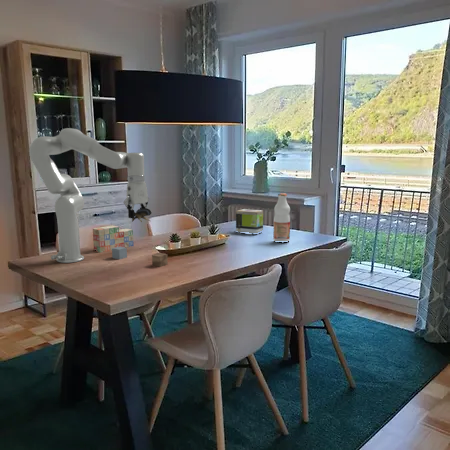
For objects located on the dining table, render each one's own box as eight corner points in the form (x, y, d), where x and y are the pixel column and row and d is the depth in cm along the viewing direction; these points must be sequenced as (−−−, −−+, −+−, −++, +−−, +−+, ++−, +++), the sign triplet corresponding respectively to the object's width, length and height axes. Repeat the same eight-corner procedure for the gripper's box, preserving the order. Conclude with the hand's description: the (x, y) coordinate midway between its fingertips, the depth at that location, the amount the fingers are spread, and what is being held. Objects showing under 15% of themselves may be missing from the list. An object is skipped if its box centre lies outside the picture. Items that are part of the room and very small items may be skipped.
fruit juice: (270, 241, 259) (270, 193, 254) (283, 239, 263) (284, 192, 258) (279, 244, 250) (280, 194, 246) (292, 242, 255) (294, 194, 250)
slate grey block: (119, 259, 216) (119, 249, 215) (112, 258, 219) (111, 248, 218) (127, 257, 220) (126, 247, 220) (119, 256, 223) (119, 246, 222)
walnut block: (160, 267, 203) (160, 256, 202) (152, 265, 205) (152, 255, 204) (167, 264, 207) (167, 254, 206) (159, 263, 209) (159, 252, 209)
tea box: (263, 232, 284) (263, 210, 281) (256, 235, 275) (256, 212, 273) (242, 230, 291) (242, 208, 289) (235, 233, 283) (235, 210, 280)
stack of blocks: (127, 244, 250) (126, 223, 248) (133, 246, 246) (133, 224, 244) (93, 250, 235) (92, 228, 233) (100, 252, 231) (98, 229, 228)
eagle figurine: (135, 221, 204) (153, 216, 208) (130, 207, 206) (148, 203, 210) (132, 227, 211) (150, 223, 215) (128, 214, 213) (145, 210, 217)
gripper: (128, 180, 197) (130, 220, 200) (154, 178, 211) (155, 215, 214) (116, 180, 201) (118, 218, 204) (143, 178, 215) (144, 214, 218)
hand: (137, 216), depth 209 cm, fingers closed on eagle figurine, 7 cm apart
